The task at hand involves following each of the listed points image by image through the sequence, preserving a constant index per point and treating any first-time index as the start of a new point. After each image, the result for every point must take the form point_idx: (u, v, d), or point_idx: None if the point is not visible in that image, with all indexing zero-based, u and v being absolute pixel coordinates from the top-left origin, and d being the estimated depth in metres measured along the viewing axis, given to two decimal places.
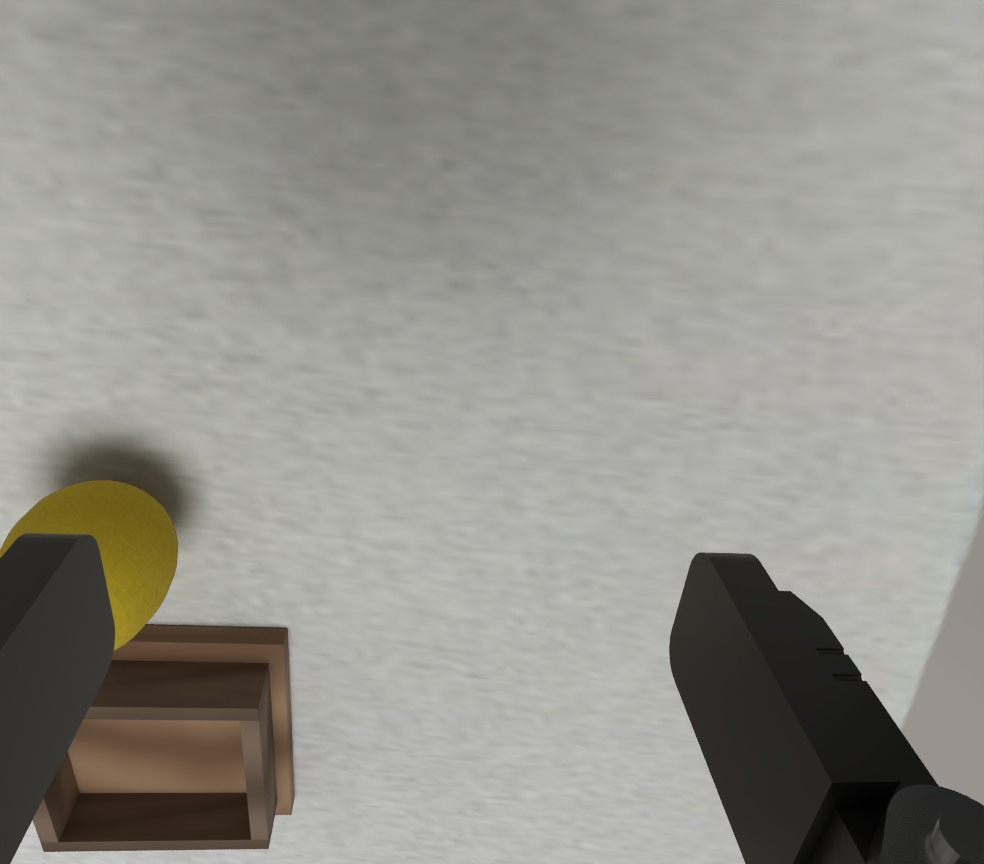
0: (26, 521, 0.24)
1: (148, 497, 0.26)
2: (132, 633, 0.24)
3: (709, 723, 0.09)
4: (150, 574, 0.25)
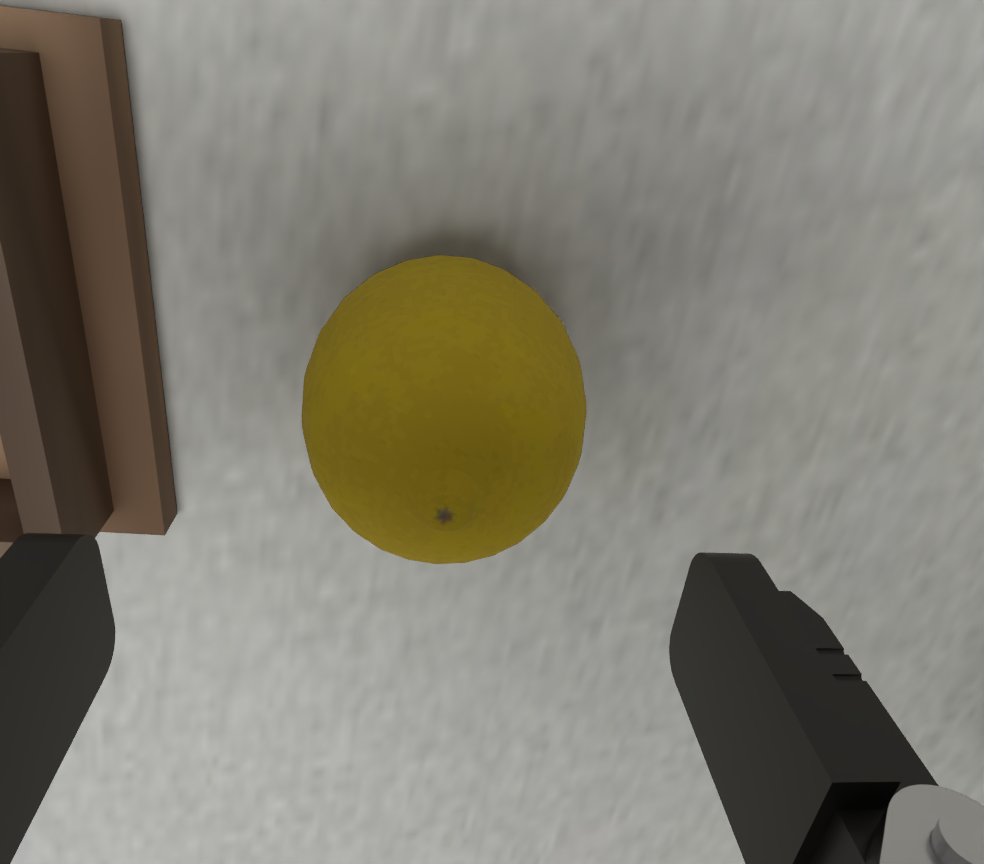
0: (573, 351, 0.13)
1: None
2: None
3: (709, 723, 0.09)
4: None
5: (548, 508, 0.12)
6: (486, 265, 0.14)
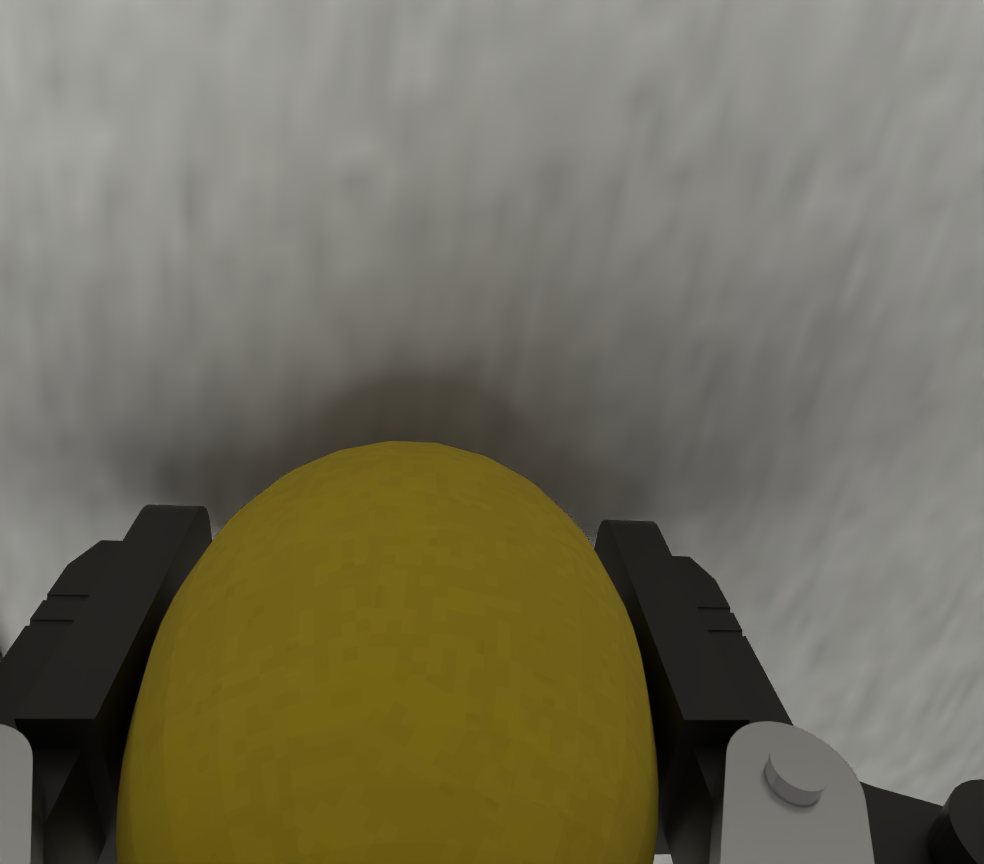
0: (629, 639, 0.07)
1: None
2: None
3: None
4: None
5: None
6: (466, 480, 0.08)
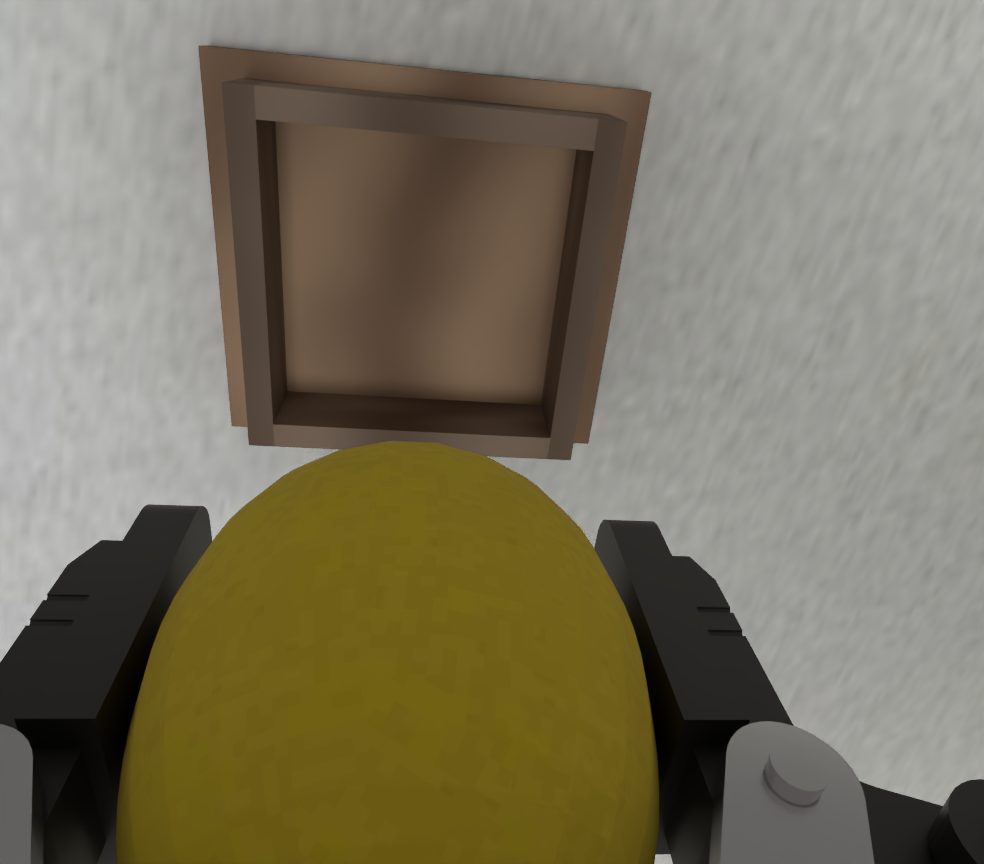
0: (630, 640, 0.07)
1: None
2: None
3: None
4: None
5: None
6: (467, 480, 0.08)
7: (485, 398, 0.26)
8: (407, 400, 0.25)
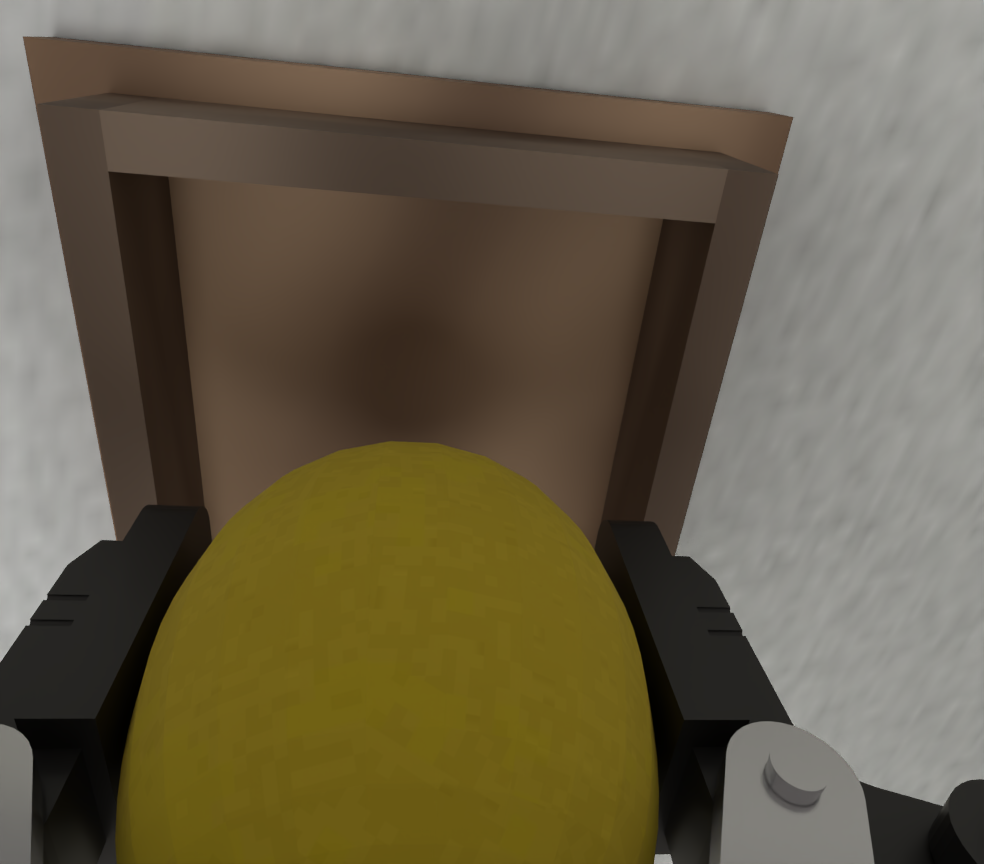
0: (629, 640, 0.07)
1: None
2: None
3: None
4: None
5: None
6: (466, 480, 0.08)
7: None
8: None
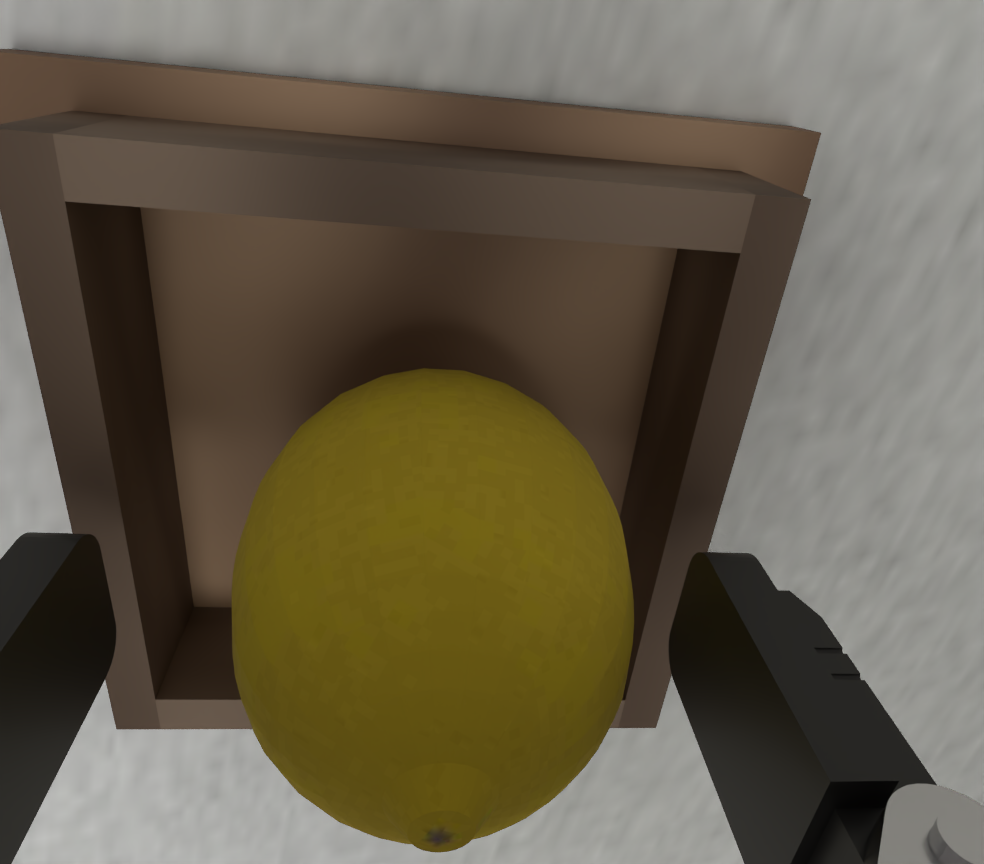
0: (613, 512, 0.10)
1: None
2: None
3: (708, 722, 0.09)
4: None
5: (588, 761, 0.09)
6: (488, 391, 0.10)
7: None
8: None
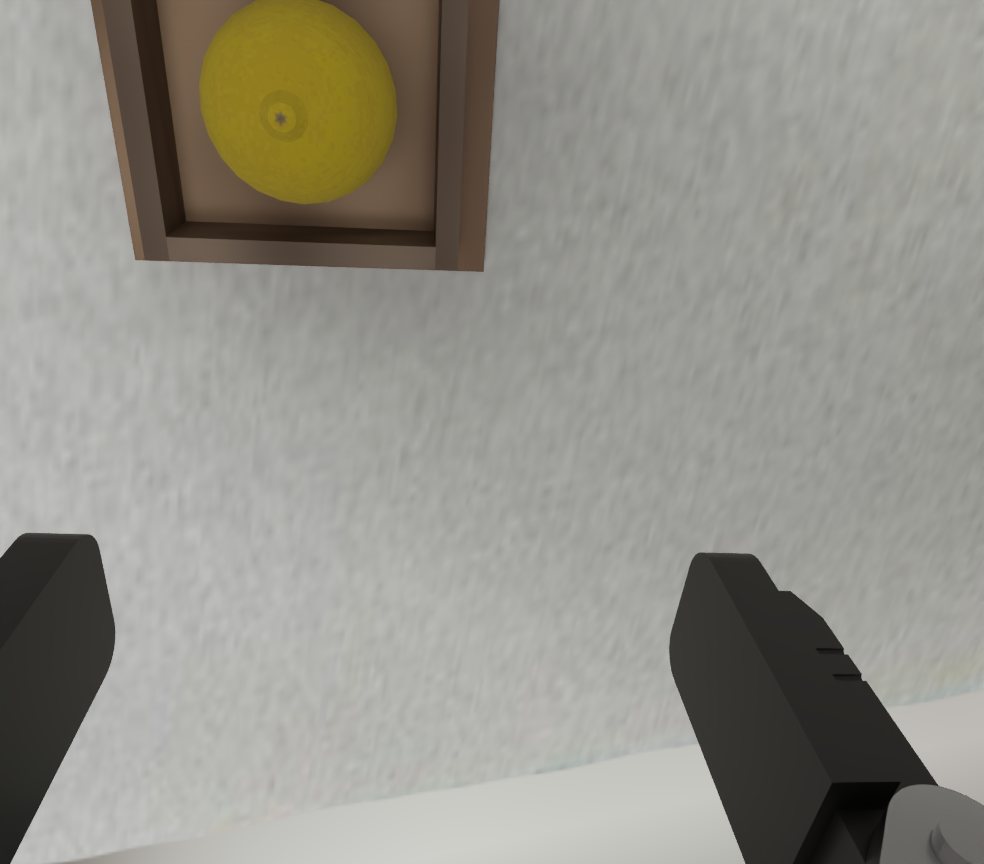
0: (379, 53, 0.20)
1: None
2: (261, 188, 0.20)
3: (709, 723, 0.09)
4: (329, 200, 0.21)
5: (360, 141, 0.19)
6: None
7: (379, 224, 0.27)
8: (303, 227, 0.26)
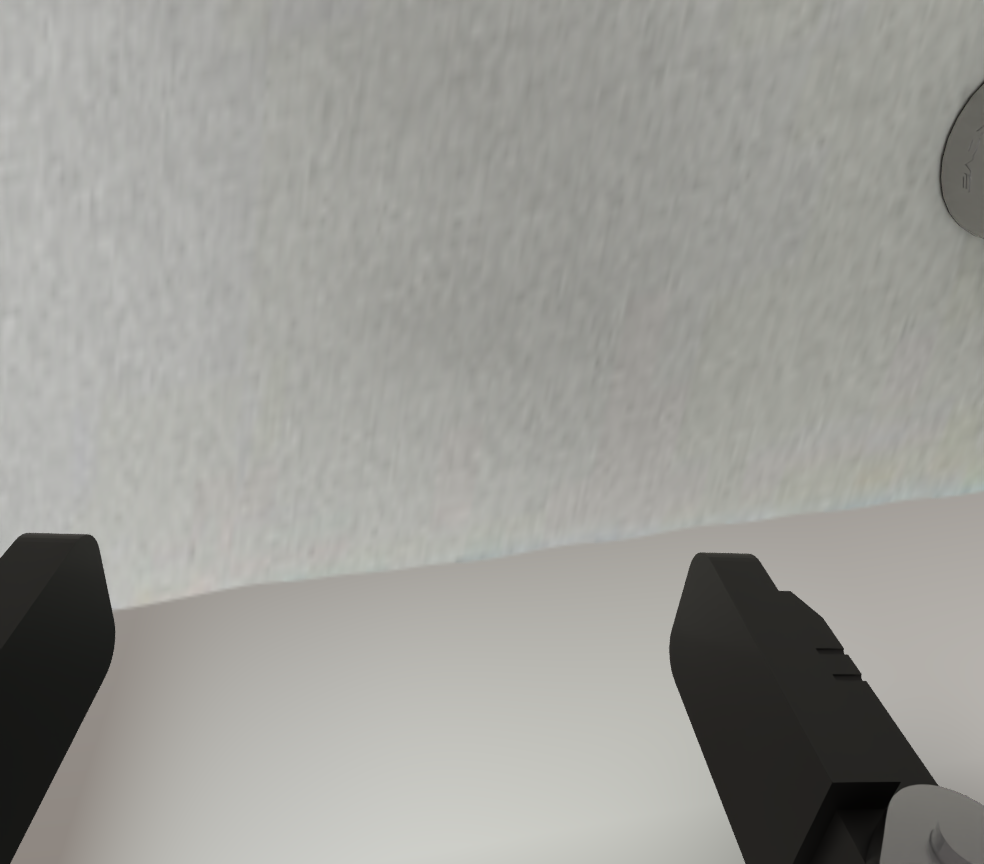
0: None
1: None
2: None
3: (709, 723, 0.09)
4: None
5: None
6: None
7: None
8: None
